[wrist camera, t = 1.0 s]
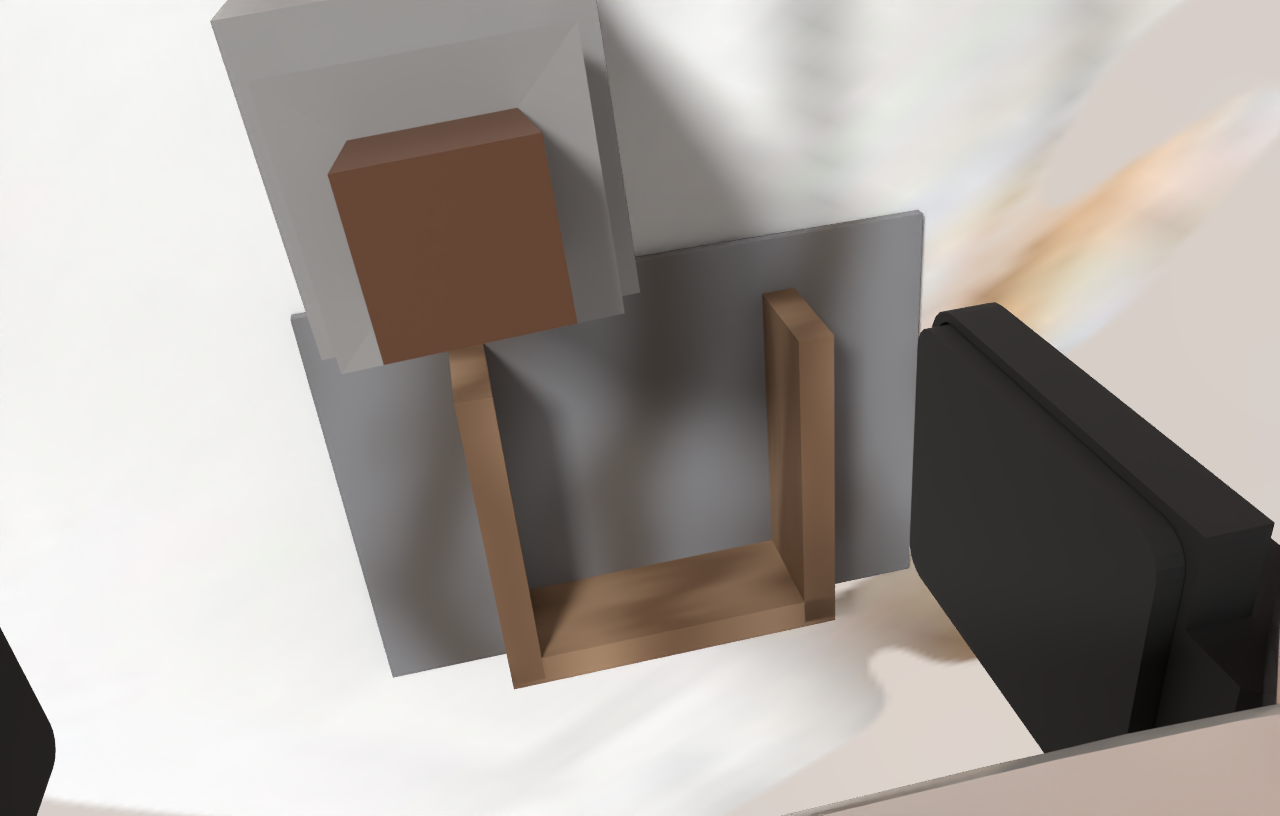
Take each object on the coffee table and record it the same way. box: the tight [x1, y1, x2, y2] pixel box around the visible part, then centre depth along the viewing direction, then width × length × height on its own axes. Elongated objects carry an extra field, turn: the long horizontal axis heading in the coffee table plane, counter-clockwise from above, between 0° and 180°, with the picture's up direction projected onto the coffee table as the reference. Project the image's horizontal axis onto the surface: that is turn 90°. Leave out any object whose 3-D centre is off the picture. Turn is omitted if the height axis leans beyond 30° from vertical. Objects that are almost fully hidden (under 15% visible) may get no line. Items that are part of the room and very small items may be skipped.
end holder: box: [291, 210, 923, 689], centre depth 39 cm, size 22×16×4 cm
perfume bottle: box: [210, 0, 640, 374], centre depth 25 cm, size 7×7×18 cm
